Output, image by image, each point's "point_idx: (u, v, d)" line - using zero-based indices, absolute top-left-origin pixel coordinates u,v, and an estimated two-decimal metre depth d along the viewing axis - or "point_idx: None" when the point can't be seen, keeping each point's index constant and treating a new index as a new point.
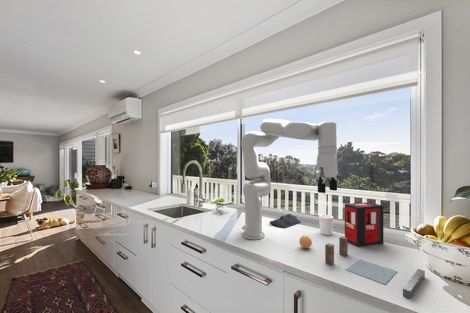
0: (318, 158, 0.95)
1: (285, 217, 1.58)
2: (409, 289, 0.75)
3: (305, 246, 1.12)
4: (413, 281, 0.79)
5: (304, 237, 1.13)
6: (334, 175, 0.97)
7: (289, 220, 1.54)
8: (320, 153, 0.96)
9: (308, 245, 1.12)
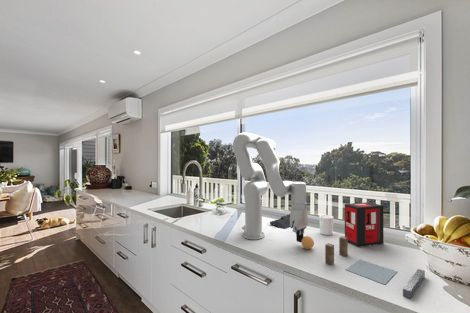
0: (291, 212, 1.16)
1: (286, 217, 1.57)
2: (409, 289, 0.75)
3: (307, 247, 1.11)
4: (413, 281, 0.79)
5: (307, 238, 1.12)
6: (305, 226, 1.17)
7: (289, 221, 1.53)
8: (293, 208, 1.16)
9: (310, 247, 1.11)
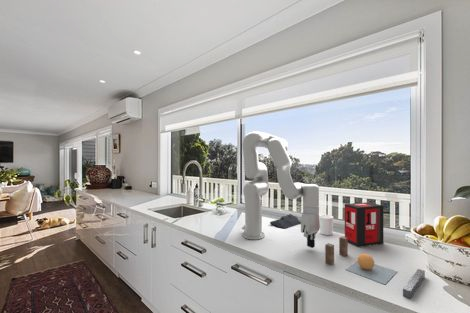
0: (302, 216, 1.10)
1: (286, 217, 1.57)
2: (409, 289, 0.75)
3: (359, 259, 0.93)
4: (413, 281, 0.79)
5: None
6: (316, 230, 1.12)
7: (290, 221, 1.53)
8: (304, 212, 1.11)
9: None
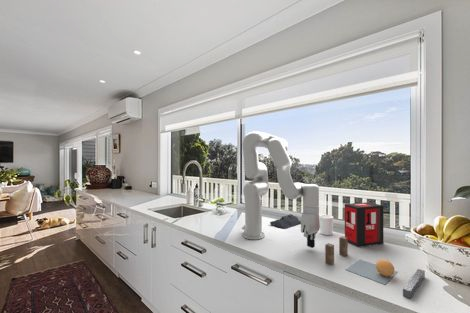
0: (302, 216, 1.10)
1: (286, 218, 1.57)
2: (409, 289, 0.75)
3: (388, 269, 0.85)
4: (413, 281, 0.79)
5: (377, 263, 0.89)
6: (316, 230, 1.12)
7: (290, 221, 1.53)
8: (304, 212, 1.11)
9: (388, 265, 0.86)
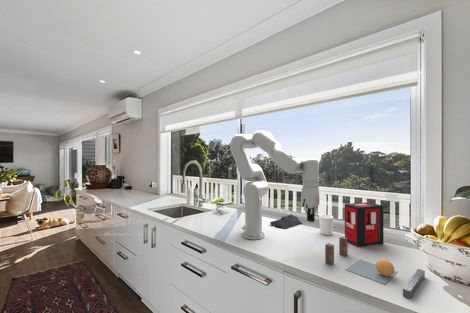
0: (302, 190, 1.10)
1: (286, 218, 1.56)
2: (409, 289, 0.75)
3: (388, 269, 0.85)
4: (413, 281, 0.79)
5: (377, 263, 0.89)
6: (316, 205, 1.12)
7: (290, 221, 1.52)
8: (304, 186, 1.11)
9: (388, 265, 0.86)
